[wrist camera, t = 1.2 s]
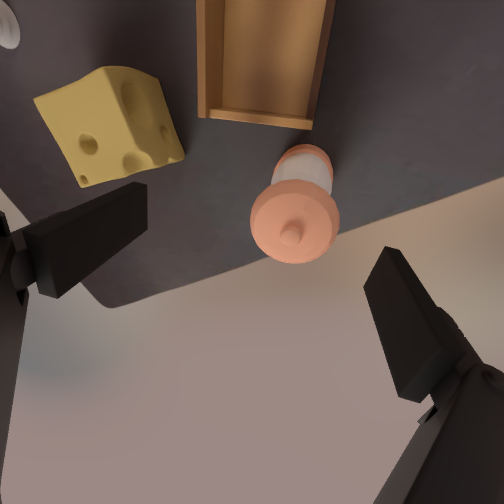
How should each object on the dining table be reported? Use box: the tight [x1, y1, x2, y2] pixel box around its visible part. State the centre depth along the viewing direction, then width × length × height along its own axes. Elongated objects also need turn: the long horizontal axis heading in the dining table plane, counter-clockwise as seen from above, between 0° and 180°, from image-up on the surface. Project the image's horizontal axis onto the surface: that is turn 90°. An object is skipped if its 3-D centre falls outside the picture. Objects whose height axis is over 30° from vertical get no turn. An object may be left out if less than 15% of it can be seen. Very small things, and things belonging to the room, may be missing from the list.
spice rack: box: [196, 0, 337, 130], centre depth 24 cm, size 11×17×9 cm, turn 175°
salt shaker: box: [250, 144, 339, 263], centre depth 27 cm, size 7×7×19 cm
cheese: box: [34, 66, 185, 188], centre depth 32 cm, size 10×11×10 cm
